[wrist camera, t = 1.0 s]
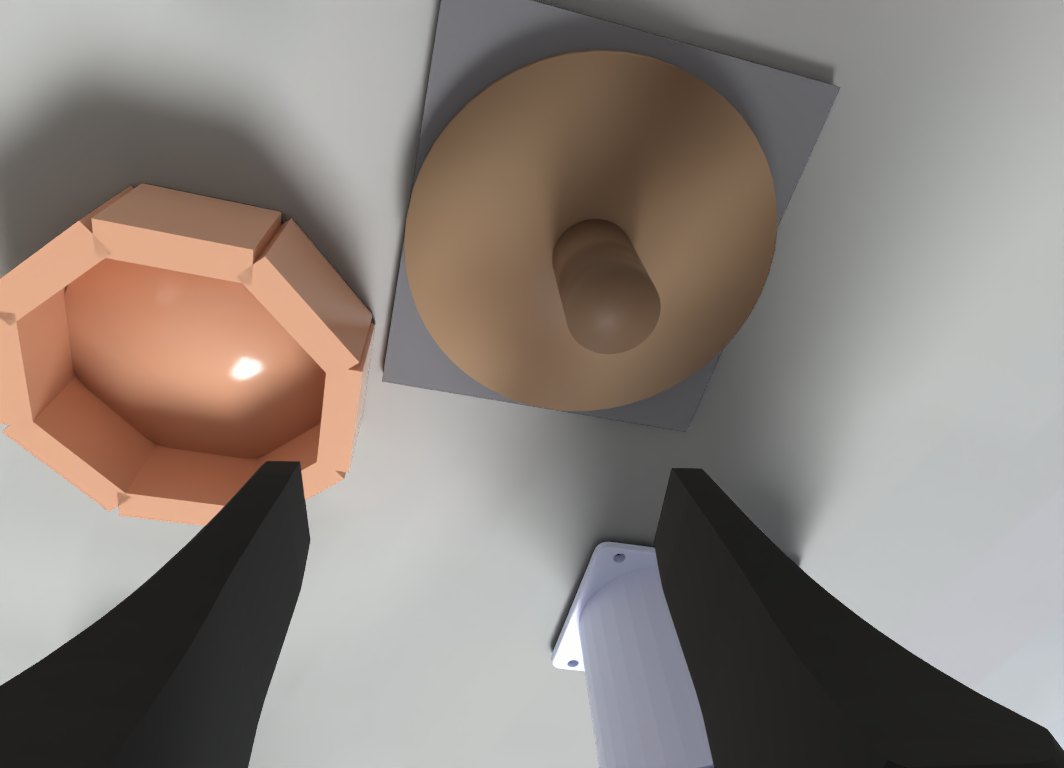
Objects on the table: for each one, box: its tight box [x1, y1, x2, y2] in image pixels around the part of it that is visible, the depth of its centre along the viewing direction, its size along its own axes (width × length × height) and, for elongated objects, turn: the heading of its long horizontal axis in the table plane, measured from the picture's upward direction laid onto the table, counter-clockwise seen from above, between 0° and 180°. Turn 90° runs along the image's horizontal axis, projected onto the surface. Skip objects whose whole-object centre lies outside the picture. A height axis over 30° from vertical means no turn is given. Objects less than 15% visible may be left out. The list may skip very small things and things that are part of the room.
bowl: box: [0, 183, 375, 526], centre depth 21 cm, size 10×10×3 cm
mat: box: [382, 0, 840, 432], centre depth 21 cm, size 11×12×1 cm
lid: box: [404, 49, 777, 411], centre depth 19 cm, size 11×11×4 cm
